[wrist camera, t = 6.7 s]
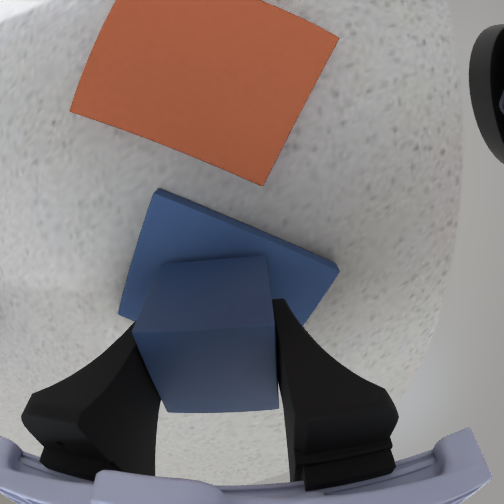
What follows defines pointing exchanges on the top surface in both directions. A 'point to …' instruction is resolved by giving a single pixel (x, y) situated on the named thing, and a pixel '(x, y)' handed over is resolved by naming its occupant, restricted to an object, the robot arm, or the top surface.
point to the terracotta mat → (205, 77)
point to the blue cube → (211, 336)
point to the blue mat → (220, 254)
